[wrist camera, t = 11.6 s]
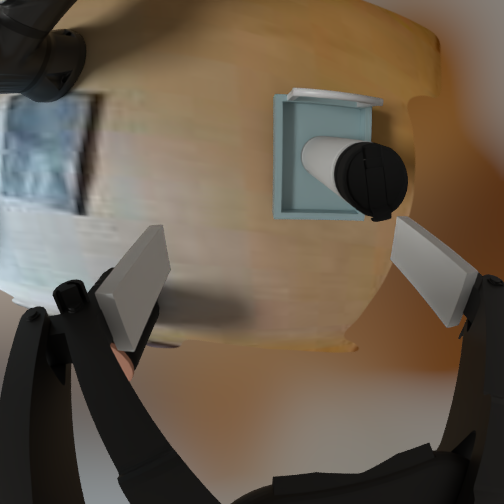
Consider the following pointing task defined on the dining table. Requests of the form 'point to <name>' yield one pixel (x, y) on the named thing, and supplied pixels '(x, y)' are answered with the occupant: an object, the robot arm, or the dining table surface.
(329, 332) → the dining table surface
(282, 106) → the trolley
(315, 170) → the travel mug
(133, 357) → the coffee jar
